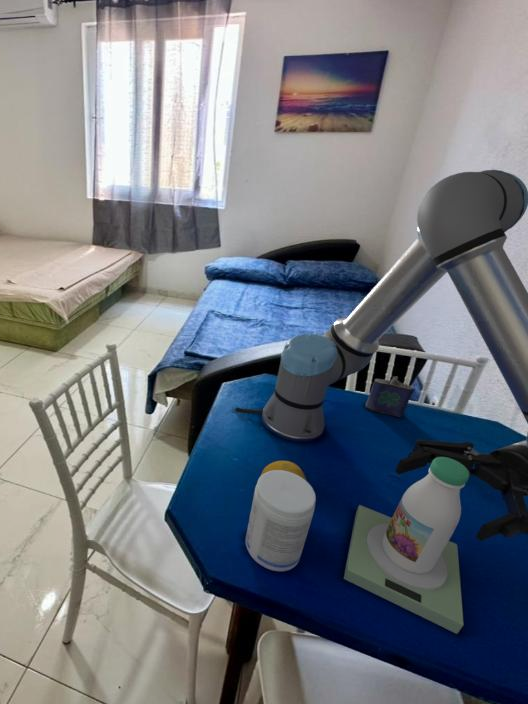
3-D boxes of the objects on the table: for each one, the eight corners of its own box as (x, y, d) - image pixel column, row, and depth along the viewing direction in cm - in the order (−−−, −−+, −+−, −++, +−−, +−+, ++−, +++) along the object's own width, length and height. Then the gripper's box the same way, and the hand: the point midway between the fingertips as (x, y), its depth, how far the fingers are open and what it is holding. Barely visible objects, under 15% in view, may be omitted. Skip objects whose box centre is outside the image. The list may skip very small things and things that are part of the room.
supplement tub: (310, 556, 72) (331, 497, 65) (274, 584, 67) (292, 524, 60) (268, 518, 79) (282, 461, 72) (233, 541, 74) (244, 482, 67)
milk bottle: (418, 536, 72) (463, 450, 63) (442, 578, 65) (496, 489, 56) (373, 531, 73) (411, 446, 63) (392, 572, 66) (438, 483, 57)
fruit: (271, 516, 79) (279, 487, 75) (250, 485, 86) (256, 457, 82) (310, 507, 81) (319, 478, 78) (287, 478, 88) (294, 450, 84)
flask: (365, 408, 112) (376, 375, 107) (364, 403, 114) (376, 370, 109) (403, 418, 108) (417, 384, 103) (401, 412, 111) (415, 379, 106)
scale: (343, 578, 68) (348, 566, 67) (355, 513, 80) (360, 501, 79) (457, 634, 61) (466, 622, 59) (451, 553, 73) (459, 541, 72)
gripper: (605, 541, 61) (513, 585, 55) (447, 437, 82) (366, 461, 75) (634, 506, 58) (540, 549, 51) (461, 407, 78) (378, 429, 72)
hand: (436, 497), depth 63 cm, fingers open, 13 cm apart
